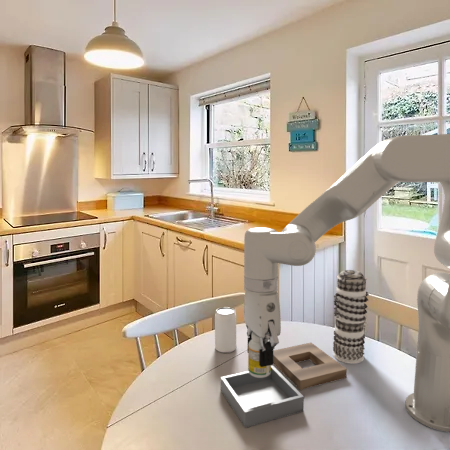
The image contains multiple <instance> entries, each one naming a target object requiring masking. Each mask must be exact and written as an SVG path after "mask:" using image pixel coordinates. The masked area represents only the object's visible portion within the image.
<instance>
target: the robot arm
mask: <svg viewBox="0 0 450 450" xmlns="http://www.w3.org/2000/svg"><path fill="white" fill-rule="evenodd" d="M399 182H400V183H439V182H440V184H441V187H442V190H443V195H444V196H443V198H444V199H443V207H442V213H441V215H440V216H441V217H440V221H439V225H438V229H437V233H436V237H435V241H434V247H433V253H434V256H435V258H436V260H437V261H438V262H439V263H440V264H441V265H442V266H444V267H446V268H447V269H449V270H450V133H441V134H423V135H422V134H420V135H398V136H395V137H390V138H386V139H383V140H382V141H380V142H378V143H377V144H376V145H374V146H373V147H372V148H371V149H370V150H369V151H368V152H367V153H366V154H365V155H363V156H362V157H361V158H360V159H359V160H358V161H357V162H356V163H355V164H354V165H353V166H352V167H351V168H349V169H348V170H347V171H346V172H345V173H344V174H343V175H342V176H341V177H339V179H337V181H336V182H334V183H333V184H332V185H331V186H330V187H329V188H327V189H326V190H324V192H323V193H322V194H320V195H319V196H318V197H317V198H316V199H314V200H313V201H312V202H311V203H310V204H309V205H307V206H306V207H305V208H304V209H303V210H302V211H300V213H299V214H297V215H296V216H295V217H294V218H293V219H292V220H291V221H290V222H289V223H287V225H286V226H285V227H284V228H283V229H282V230H281V231H279V232H278V231H277V230H276V229H274V228H270V227H252V228H249V229H246V231H245V233H244V241H243V243H244V246H243V250H244V251H243V252H244V253H243V255H244V256H243V257H244V259H243V261H244V262H243V263H244V265H243V266H244V267H243V269H244V271H243V277H244V278H243V290H244V298H243V299H244V300H243V302H244V303H243V319H244V323H245V326H246V329H247V330H246V331H247V332H246V336H247V347H248V346H249V342H250V340H252V332H254V333H255V334H257V335H258V336H259V337H260V342H261V349H260V352H259V365H260V366H261V367H264V366H269V365H271V366H272V365H274V364H273V350H275V348H276V346H277V345H279V343H280V340H279V336H280V335H281V333H282V332H281V329H282V326H281V325H282V323H281V319H282V318H281V305H280V296H279V293H278V291H279V288H278V287H279V284H278V283H279V264H283V265H288V266H293V267H301V266H306V265H308V264H309V263H310V262H312V260H313V259H314V257H315V255H316V251H317V249H316V248H317V247H316V242H317V241H318V240H319V239H320V238H321V237H323V236H324V235H325V234H326V233H327V232H329V231H330V230H331V229H333V228H334V227H336V226H337V225H339V224H341V223H343V222H347V221H350V220H353V219H355V218H357V217H359V216H361V215H363V214H364V213H365V212H366V211H367V210H368V209H370V208H371V207H372V206H373V205H374V204H375V203H376V202H377V201H378V200H379V199H380V198H382V197H383V196H384V195H385V194H387V192H389V190H391V189H392V188H393V187H394V186H395V185H396V184H398V183H399ZM416 301H417V302H416V303H417V313H418V315H417V316H418V330H417V344H416V356H415V357H416V358H415V370H414V371H415V372H414V382H413V383H414V384H413V392H412V393H410V394H409V395H407V397H406V398H405V400H404V406H405V407H404V408H405V409H406V411H407V413H408V414H409V415H410V416H411V417H412V418H413V420H415V421H418V422H419V423H420V424H422V425H423V426H426V427H429V428H431V429H434V430H436V431H442V432H445V433H446V432H448V433H450V273H449V272H435V273H432V274H429V275H427V276H426V277H425V278H424V279H423V280H422V281H421V283H420V284H419V287H418V290H417V299H416ZM267 332H268V333H269V334H268V335H265V333H267ZM267 338H269V342H267V343H266V344H265V339H267Z"/></svg>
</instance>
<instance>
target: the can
mask: <svg viewBox="0 0 450 450" xmlns="http://www.w3.org/2000/svg"><path fill="white" fill-rule="evenodd" d="M214 347H215V350H216V351H217V352H219V353H222V354H230V353H232V352H234V351H235V350H236V349H237V314H236V312H235V308H233V307H228V306H224V307H223V306H222V307H219V308H217V309H216V310H215V315H214Z"/></svg>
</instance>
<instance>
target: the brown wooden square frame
mask: <svg viewBox="0 0 450 450" xmlns="http://www.w3.org/2000/svg"><path fill="white" fill-rule="evenodd" d="M306 361H310V362H312V363H313V364H314V365H312V366H309V367H304V368H302V367H301V366H300V365H299V364H298V363H302V362H306ZM272 365H273V366H274V367H275V366H276V367H275V368H276V369H277V370H278V371H279V372H281V373H282V374H283V375H284V376H285V377H286V378H288V379H289V381H291V382H292V384H294V385H295V386H296V387H297V389H298V390H300V391H302V390H305V389H309V388H313V387H318V386H321V385H324V384H328V383H332V382H336V381H340V380H344V379H348V377H347V376H348V375H347V373H348V369H347V367H345V366H344V365H342V364H341V363H339V361H338V360H337V359H334V357H331V355H329V354H327V353H326V352H325V351H323V350H322V349H321V348H319V347H318V346H316V345H315V344H314V343H312V342H306V343H302V344H297V345H293V346H287V347H283V348H279V349H273V364H272Z"/></svg>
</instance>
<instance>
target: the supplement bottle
mask: <svg viewBox="0 0 450 450" xmlns="http://www.w3.org/2000/svg"><path fill="white" fill-rule="evenodd" d="M268 334H269V333H268V332H267V333H265V335H268ZM267 342H269V338H267V339H265V344H266V343H267ZM260 349H261V342H260V337H259V336H258V335H257V334H255V333H254V332H252V340H250V342H249V346H248V345H247V353H248V354H247V355H248V357H247V358H248V360H247V366H248V367H247V371H248V372H249V374H250V375H252V376H254V377H257V378H264V377H267V376H269V375H270V373H271V366H272V365H269V366H264V367H261V366H260V365H259V352H260Z"/></svg>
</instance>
